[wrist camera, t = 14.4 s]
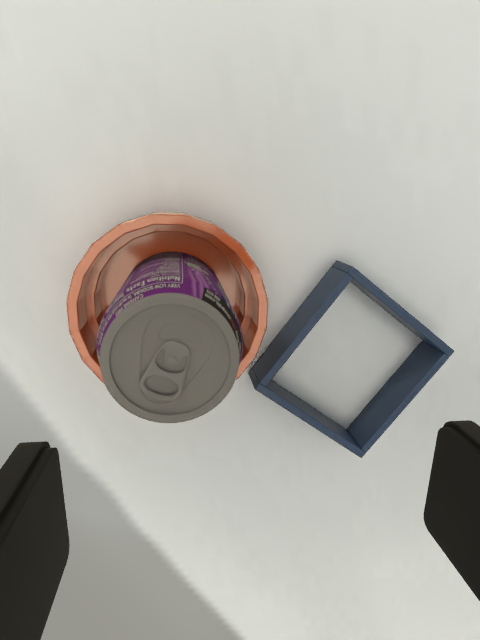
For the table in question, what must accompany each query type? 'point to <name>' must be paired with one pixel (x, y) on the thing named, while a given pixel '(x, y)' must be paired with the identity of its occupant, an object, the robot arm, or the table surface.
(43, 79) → the table surface
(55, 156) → the table surface
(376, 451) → the table surface
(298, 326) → the blue square frame
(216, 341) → the beverage can
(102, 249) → the bowl
